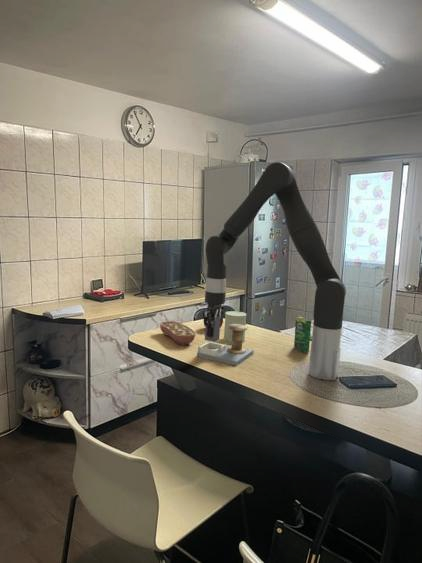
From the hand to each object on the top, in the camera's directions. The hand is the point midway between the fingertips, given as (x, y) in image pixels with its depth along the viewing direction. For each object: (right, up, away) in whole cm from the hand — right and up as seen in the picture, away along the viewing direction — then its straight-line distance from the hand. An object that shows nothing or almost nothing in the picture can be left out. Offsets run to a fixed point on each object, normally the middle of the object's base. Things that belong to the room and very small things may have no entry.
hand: (212, 335), depth 154 cm
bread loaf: (-15, -5, +19) cm, 24 cm away
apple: (0, -2, +38) cm, 38 cm away
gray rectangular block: (0, -2, 0) cm, 2 cm away
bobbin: (+9, -6, +3) cm, 11 cm away
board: (+5, -8, +2) cm, 9 cm away
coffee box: (+36, -8, +14) cm, 39 cm away
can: (+9, -5, +23) cm, 25 cm away
